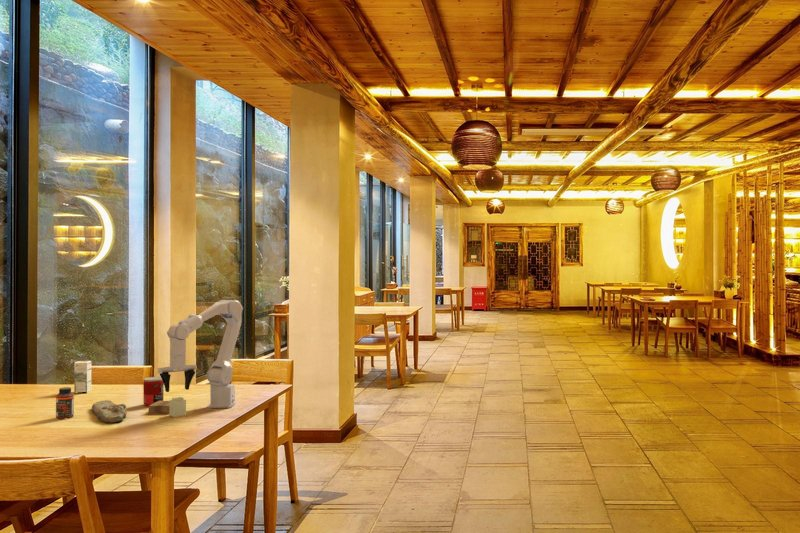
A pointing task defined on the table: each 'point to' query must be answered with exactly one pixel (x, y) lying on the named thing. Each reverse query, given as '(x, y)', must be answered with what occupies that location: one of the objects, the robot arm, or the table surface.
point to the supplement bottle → (64, 403)
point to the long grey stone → (109, 411)
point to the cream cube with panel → (177, 407)
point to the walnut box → (159, 407)
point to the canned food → (153, 390)
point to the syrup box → (82, 376)
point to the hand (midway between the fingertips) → (177, 390)
